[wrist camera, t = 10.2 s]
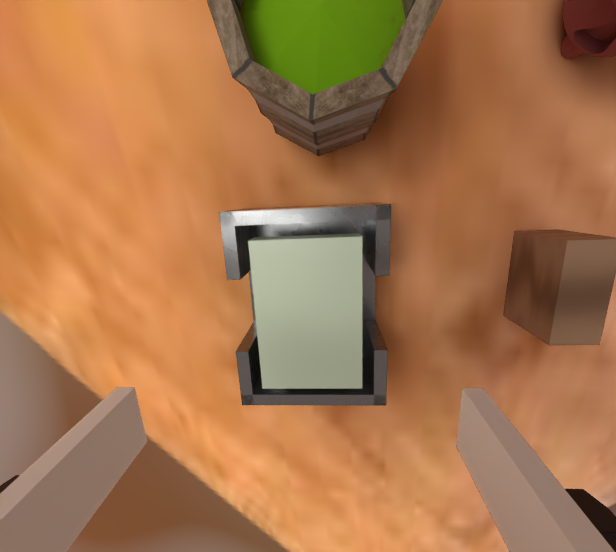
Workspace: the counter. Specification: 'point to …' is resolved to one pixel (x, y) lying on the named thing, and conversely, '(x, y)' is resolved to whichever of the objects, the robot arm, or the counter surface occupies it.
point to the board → (308, 310)
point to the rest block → (561, 285)
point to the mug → (321, 61)
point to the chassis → (375, 262)
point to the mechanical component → (589, 28)
